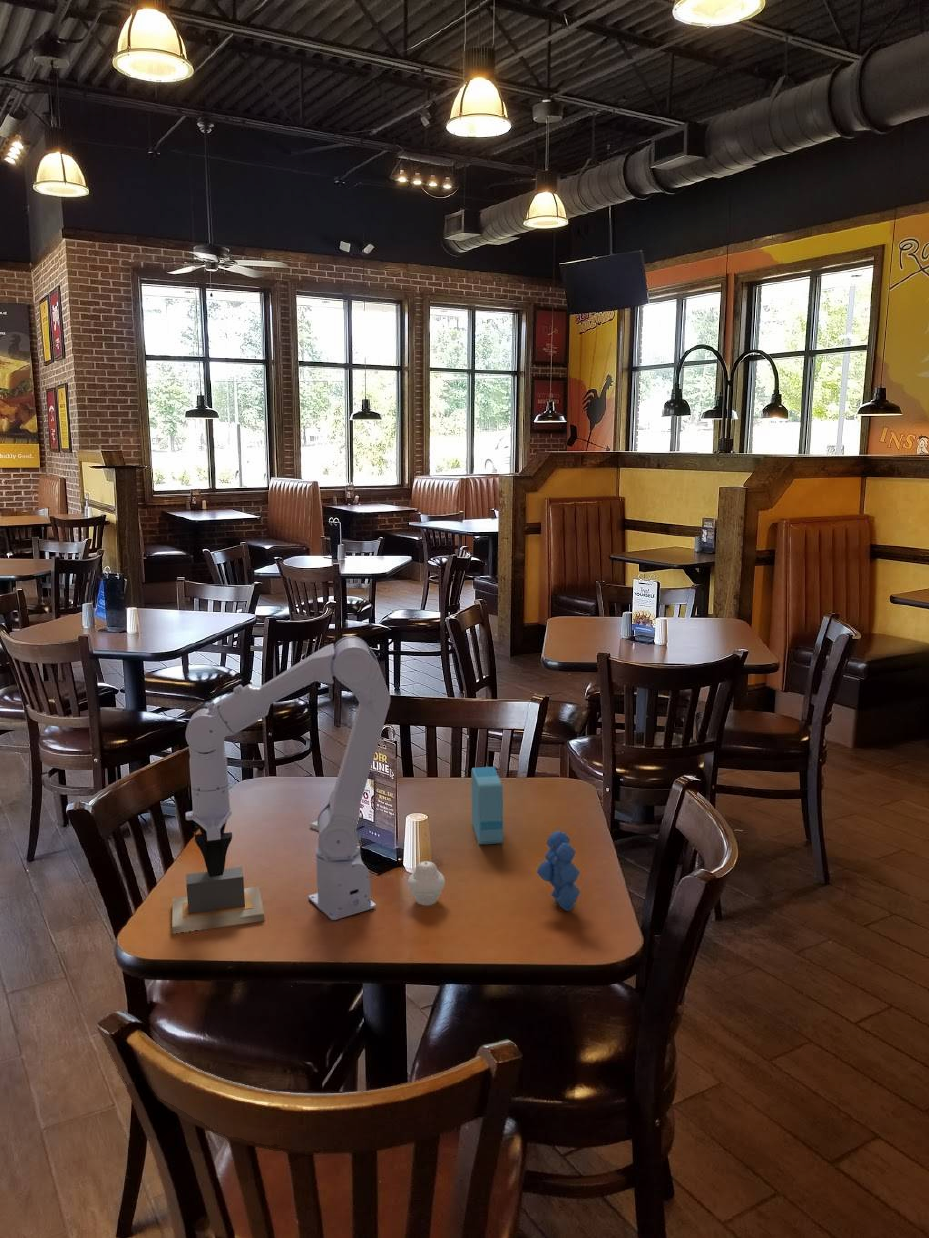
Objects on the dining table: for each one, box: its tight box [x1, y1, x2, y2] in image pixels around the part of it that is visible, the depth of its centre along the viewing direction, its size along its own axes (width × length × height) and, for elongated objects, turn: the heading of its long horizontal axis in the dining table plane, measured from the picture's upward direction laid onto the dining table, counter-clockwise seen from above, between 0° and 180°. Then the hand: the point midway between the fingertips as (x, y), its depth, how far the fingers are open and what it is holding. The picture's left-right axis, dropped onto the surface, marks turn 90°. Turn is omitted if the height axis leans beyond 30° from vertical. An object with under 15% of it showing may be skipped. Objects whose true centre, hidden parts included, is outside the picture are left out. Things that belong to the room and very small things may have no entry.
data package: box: [470, 766, 504, 845], centre depth 183 cm, size 12×4×12 cm, turn 6°
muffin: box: [407, 860, 446, 907], centre depth 157 cm, size 6×6×7 cm
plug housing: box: [185, 866, 245, 915], centre depth 154 cm, size 9×4×5 cm, turn 107°
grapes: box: [536, 830, 581, 911], centre depth 155 cm, size 12×7×12 cm, turn 11°
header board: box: [171, 886, 265, 935], centre depth 154 cm, size 14×10×4 cm
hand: (215, 865), depth 153 cm, fingers open, 7 cm apart
